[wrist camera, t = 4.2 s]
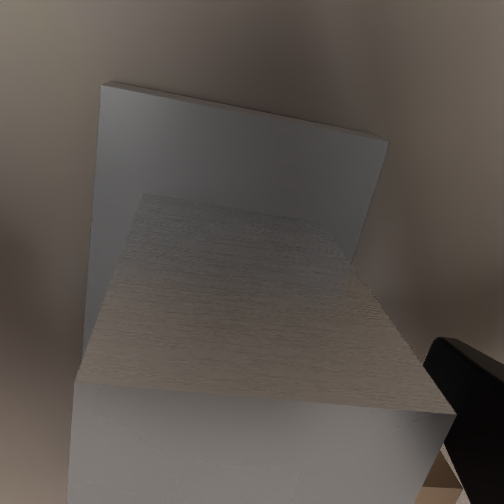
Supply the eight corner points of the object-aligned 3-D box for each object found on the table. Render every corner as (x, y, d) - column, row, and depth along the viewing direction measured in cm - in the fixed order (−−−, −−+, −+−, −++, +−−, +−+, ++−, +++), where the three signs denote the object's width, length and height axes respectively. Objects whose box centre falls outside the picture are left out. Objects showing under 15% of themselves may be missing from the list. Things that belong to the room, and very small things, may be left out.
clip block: (321, 221, 10) (456, 415, 5) (281, 363, 12) (353, 629, 7) (142, 193, 10) (74, 382, 4) (125, 347, 11) (57, 631, 6)
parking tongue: (373, 134, 11) (389, 142, 10) (293, 399, 14) (299, 424, 13) (110, 80, 10) (101, 85, 9) (86, 381, 13) (78, 407, 12)
